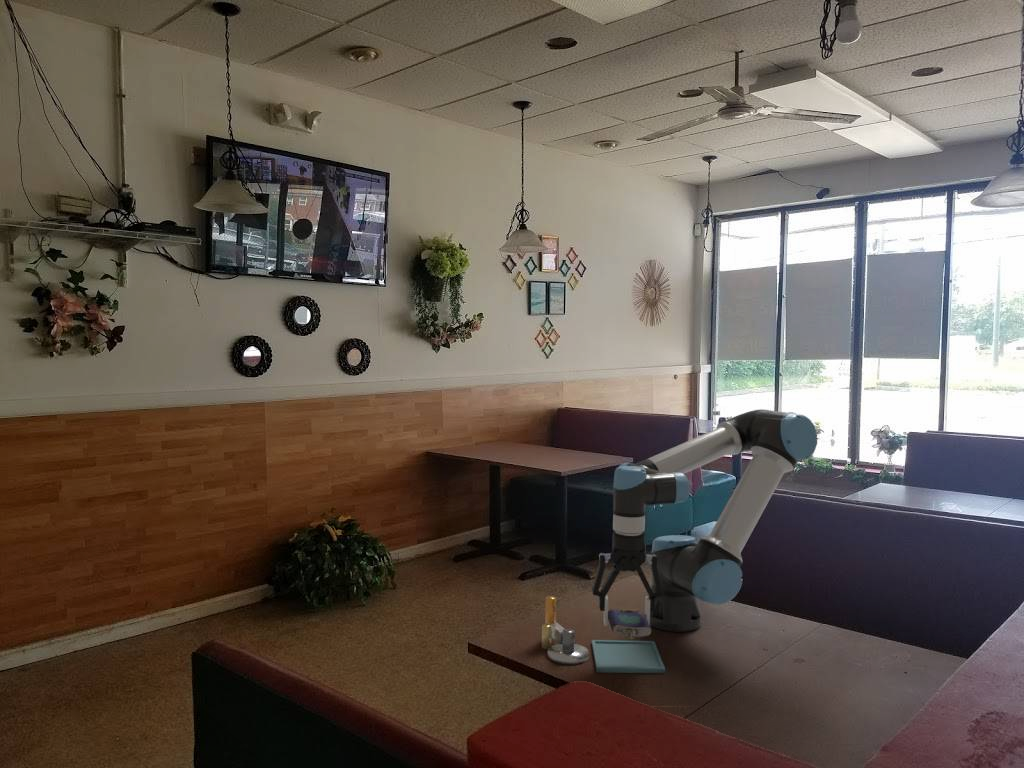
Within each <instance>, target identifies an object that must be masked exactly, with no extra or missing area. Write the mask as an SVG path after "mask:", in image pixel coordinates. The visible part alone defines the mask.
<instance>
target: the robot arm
mask: <svg viewBox="0 0 1024 768" xmlns="http://www.w3.org/2000/svg"><path fill="white" fill-rule="evenodd" d="M817 444H818V434H817V429H816V426H815V424H814V423H813V421H812V420H811V419H810V418H809V417H807V416H806V415H803V414H801V413H796V412H791V411H788V412H785V411H776V410H770V409H755V410H751V411H750V410H749V411H747V412H743V413H741V414H738V415H736V416H733V417H731V418H728V419H726V420H724V421H722V422H719V423H718V425H717V427H716V428H715V429H714V428H713V430H710V431H708V432H706V433H704V434H701V435H699V436H696V437H694V438H692V439H690V440H687V441H685V442H683V443H680V444H678V445H676V446H674V447H671V448H668V449H667V450H665V451H662V452H660V453H658V454H656V455H653V456H651V457H649V458H646V459H644V460H641V461H638V462H637V463H633V462H624V463H622V464H619V465H618V467H616V468H615V470H614V476H613V486H612V487H613V509H612V510H613V515H612V516H613V517H612V530H613V532H612V543H611V544H612V549H611V551H610V553H603V552H599V553H598V558H599V563H598V565H597V566H598V567H597V570H596V574H595V577H594V581H593V585H592V588H591V589H592V590H591V591H592V595H593V596H597V597H599V599H598V600H599V602H598V607H599V611H600V612H603V625H604V627H608V625H609V623H608V622H609V620H608V611H609V597H608V593H609V591H610V589H611V587H612V585H613V584H614V582H615V580H616V578H617V577H618V575H619V574H620V572H628V571H629V572H632V573H633V572H637V574H638V576H639V578H640V580H641V582H642V584H643V586H644V589H645V590H646V593H647V594H648V595H647V596H645V598H644V599H645V601H644V602H645V605H644V612H643V613H644V614H645V615H646V618H647V621H648V623H649V626H650V627H651V628H652V627H653V628H655V629H657V630H662V631H666V632H676V633H677V632H678V633H681V632H682V633H683V632H691V631H695V630H698V629H699V628H701V627H702V624H703V615H702V612H701V611H702V610H701V608H700V606H699V603H698V600H699V601H701V602H705V603H708V604H711V605H717V606H718V605H719V606H720V605H722V604H726V603H728V602H730V601H731V600H733V599H734V598H735V597H736V596H737V594H738V593H739V591H740V590H741V588H742V585H743V578H742V577H743V571H742V569H741V566H742V564H743V562H744V561H743V558H742V555H741V554H742V553H741V552H742V551H743V549H744V547H745V546H746V544H747V541H748V540H749V538H750V537H751V535H752V533H753V531H754V528H755V527H756V526H757V524H758V522H759V520H760V518H761V516H762V514H763V513H764V510H765V509H766V507H767V505H768V503H769V501H770V500H771V497H772V496H773V494H774V493H775V491H776V489H777V487H778V485H779V483H780V482H781V479H782V477H783V476H784V474H786V473H789V472H792V471H793V470H794V468H795V467H796V466H797V464H798V462H799V461H805V460H806V459H809V458H811V457H812V455H814V453H815V451H816V450H817V449H816V448H817V446H818V445H817ZM745 452H751V455H752V458H751V460H750V462H749V463H748V465H747V467H746V469H745V471H744V472H743V474H742V476H741V477H740V480H739V482H738V483H737V485H736V487H735V489H734V490H733V492H732V493H731V496H730V498H729V499H728V501H727V503H726V505H725V507H724V509H722V512H721V514H720V516H719V517H718V519H717V521H716V522H715V524H714V526H713V528H712V529H711V532H710V534H709V535H707V536H703V537H700V539H699V541H698V542H697V538H696V537H694V536H691V535H684V534H683V535H682V534H680V535H679V534H677V535H676V534H675V535H674V534H673V535H672V534H671V535H663V536H662V535H660V536H658V537H656V538H654V540H653V541H652V545H651V546H652V547H651V552H650V553H651V554H648V553H647V554H646V551H645V538H646V537H645V533H644V532H645V531H646V528H645V527H646V506H647V507H650V506H661V505H675V504H681V503H684V502H686V501H687V500H688V499H689V497H690V494H691V485H690V481H689V478H688V476H686V474H687V473H689V472H691V471H694V470H696V469H699V468H700V467H702V466H705V465H707V464H710V463H711V462H715V460H716V461H717V460H718V459H721V458H722V457H726V456H727V455H731V456H735V455H736V456H737V455H739V454H741V453H745ZM610 559H611V560H612V562H613V566H612V569H611V571H610V572H609V574H608V576H607V578H606V579H605V581H604V583H603V585H602V587H601V583H602V579H603V576H604V573H605V569H606V564H608V563H609V560H610ZM646 560H647V563H648V564H649V566H650V570H651V585H650V584H649V583H650V582H649V581H648V578H647V577H646V575H645V573H644V571H643V569H642V567H641V566H642V565H643V563H644V562H645V561H646ZM600 587H601V588H600Z"/></svg>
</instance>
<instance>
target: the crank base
mask: <svg viewBox="0 0 1024 768" xmlns="http://www.w3.org/2000/svg"><path fill="white" fill-rule="evenodd" d="M564 629H565V628H564ZM551 636H552V625H551V624H545V623H543V624H542V625H541V648H542V649H544V650H547V657H548V659H549V660H551V662H552V661H553V662H555V663H557V664H562V665H579V664H582V663H585V662H587V661H588V660H589V658H590V650H589V649H588V648H587V647H586V646H583V645H581V644H577V643H575V630H574V629H572V628H566V629H565V630H563V644H562V645H560V644H559V643H556V644H552V637H551Z"/></svg>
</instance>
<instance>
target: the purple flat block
mask: <svg viewBox="0 0 1024 768" xmlns="http://www.w3.org/2000/svg"><path fill="white" fill-rule="evenodd" d="M644 613H645V612H643V611H640V610H636V611H633V610H629V609H627V610H622V609H621V610H619V609H613V608H611V609H610V610H609V609H608V622H609V625H610V629H611V631H612V633H614V634H615V635H618V636H623V637H629V639H630V640H635V639H636V637H637V638H640V637H648V636H650V635H651V634H652V626H649V623H648V621H647V618H646V615H645V614H644Z"/></svg>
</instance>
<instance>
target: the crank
mask: <svg viewBox="0 0 1024 768" xmlns="http://www.w3.org/2000/svg"><path fill="white" fill-rule="evenodd" d="M544 624H551V625H552V636H551V639H554V641H556V642H557V644H560V645H562V644H563V630H565V627H563V626H562V625H561V624H560V623H558V622H557V596H553V595H548V596H545V623H544Z"/></svg>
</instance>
